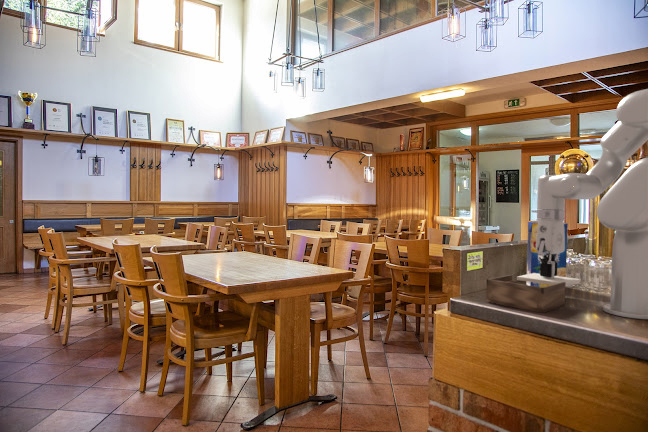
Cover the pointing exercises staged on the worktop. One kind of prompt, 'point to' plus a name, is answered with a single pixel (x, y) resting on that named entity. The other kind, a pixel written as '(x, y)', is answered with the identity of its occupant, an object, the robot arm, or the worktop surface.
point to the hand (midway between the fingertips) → (548, 275)
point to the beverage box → (532, 253)
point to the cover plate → (548, 278)
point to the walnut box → (525, 294)
